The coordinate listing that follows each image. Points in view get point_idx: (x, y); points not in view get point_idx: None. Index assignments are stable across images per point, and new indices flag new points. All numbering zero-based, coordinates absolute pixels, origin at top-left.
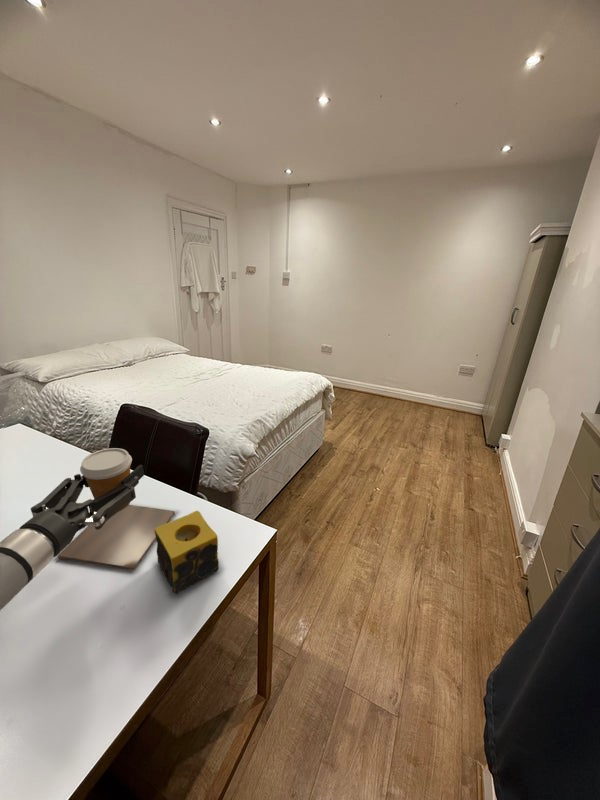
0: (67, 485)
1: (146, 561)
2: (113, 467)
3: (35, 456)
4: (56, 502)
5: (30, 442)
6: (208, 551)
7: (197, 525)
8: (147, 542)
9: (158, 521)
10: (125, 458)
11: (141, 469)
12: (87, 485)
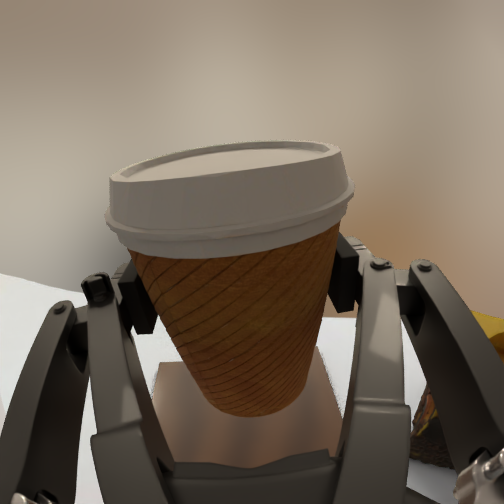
0: (69, 338)
1: None
2: (335, 158)
3: (11, 302)
4: (67, 443)
5: (4, 286)
6: None
7: (501, 332)
8: (334, 430)
9: (307, 377)
10: (317, 142)
11: None
12: (147, 325)
